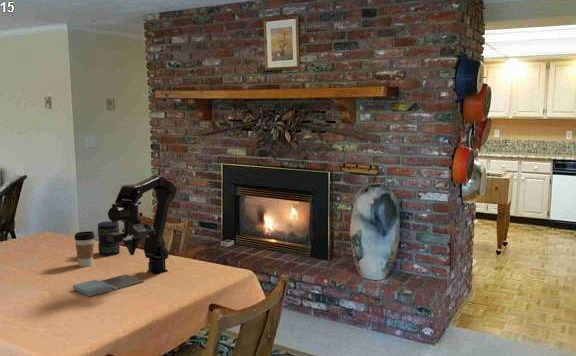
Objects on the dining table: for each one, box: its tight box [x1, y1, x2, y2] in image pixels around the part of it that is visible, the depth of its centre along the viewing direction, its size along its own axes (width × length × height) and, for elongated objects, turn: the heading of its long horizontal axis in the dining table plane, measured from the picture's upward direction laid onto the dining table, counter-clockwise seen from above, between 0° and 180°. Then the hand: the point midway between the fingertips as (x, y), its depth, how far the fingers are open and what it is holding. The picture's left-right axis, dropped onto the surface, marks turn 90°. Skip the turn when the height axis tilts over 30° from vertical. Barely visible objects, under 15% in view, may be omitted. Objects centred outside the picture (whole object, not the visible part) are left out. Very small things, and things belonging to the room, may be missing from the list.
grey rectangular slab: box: [72, 279, 113, 297], centre depth 197 cm, size 2×12×10 cm
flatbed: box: [99, 273, 145, 291], centre depth 207 cm, size 13×13×1 cm
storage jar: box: [97, 220, 121, 257], centre depth 248 cm, size 10×10×15 cm
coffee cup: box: [74, 231, 95, 268], centre depth 229 cm, size 8×8×15 cm
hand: (132, 255), depth 204 cm, fingers closed
